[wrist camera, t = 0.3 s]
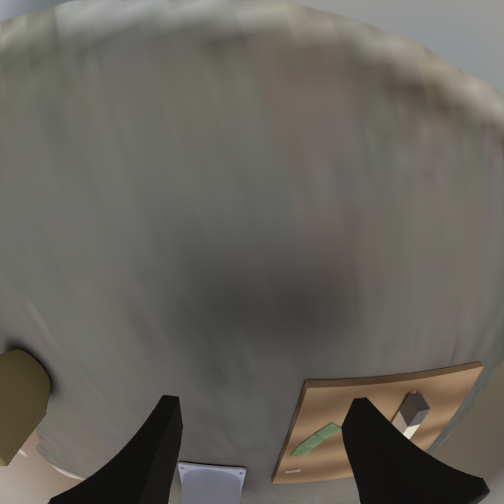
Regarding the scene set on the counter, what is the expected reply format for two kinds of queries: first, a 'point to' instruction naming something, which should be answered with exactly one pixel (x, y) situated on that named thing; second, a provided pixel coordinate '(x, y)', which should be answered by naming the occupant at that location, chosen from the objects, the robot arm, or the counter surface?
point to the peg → (411, 414)
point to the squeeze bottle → (20, 400)
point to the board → (383, 398)
